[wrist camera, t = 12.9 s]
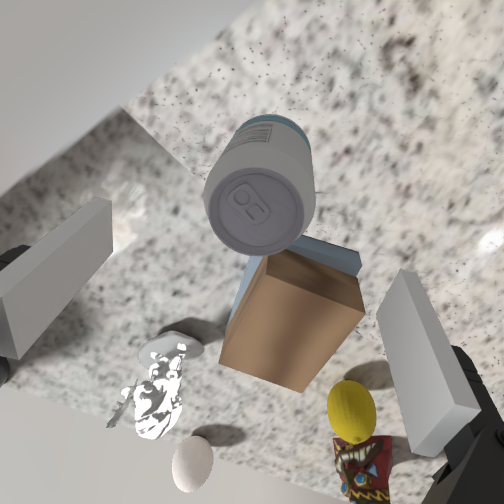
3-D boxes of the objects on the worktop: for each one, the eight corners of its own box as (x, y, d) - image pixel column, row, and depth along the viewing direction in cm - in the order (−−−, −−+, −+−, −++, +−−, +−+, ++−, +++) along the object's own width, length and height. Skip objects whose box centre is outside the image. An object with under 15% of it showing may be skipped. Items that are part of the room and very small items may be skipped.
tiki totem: (391, 434, 49) (408, 508, 42) (392, 466, 54) (408, 538, 46) (329, 435, 51) (335, 507, 43) (335, 466, 55) (341, 535, 48)
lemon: (331, 397, 46) (337, 459, 39) (319, 370, 44) (323, 431, 37) (374, 391, 45) (387, 454, 38) (364, 362, 42) (376, 425, 35)
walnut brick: (227, 327, 38) (218, 363, 34) (270, 242, 32) (265, 274, 28) (301, 354, 39) (301, 393, 35) (357, 277, 33) (365, 313, 29)
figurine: (188, 313, 41) (152, 404, 31) (220, 346, 43) (196, 441, 33) (134, 338, 44) (85, 428, 34) (166, 368, 47) (129, 460, 37)
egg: (225, 444, 55) (215, 497, 49) (195, 451, 58) (182, 503, 51) (202, 423, 53) (188, 476, 47) (172, 432, 55) (156, 484, 49)
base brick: (228, 318, 42) (224, 336, 39) (261, 219, 34) (259, 234, 31) (307, 341, 42) (308, 360, 40) (357, 248, 34) (362, 265, 32)
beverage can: (266, 205, 32) (251, 283, 22) (214, 149, 30) (172, 207, 20) (327, 158, 30) (342, 224, 19) (275, 92, 27) (261, 127, 17)
